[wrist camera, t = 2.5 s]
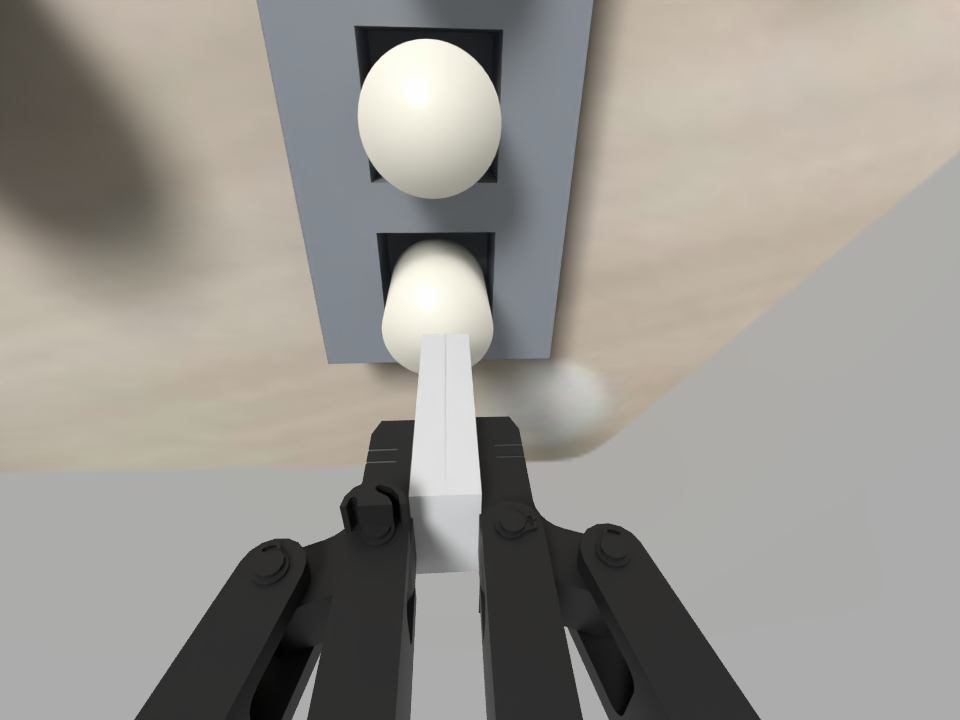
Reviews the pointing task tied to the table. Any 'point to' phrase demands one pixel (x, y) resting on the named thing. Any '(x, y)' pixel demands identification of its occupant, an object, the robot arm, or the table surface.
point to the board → (409, 219)
